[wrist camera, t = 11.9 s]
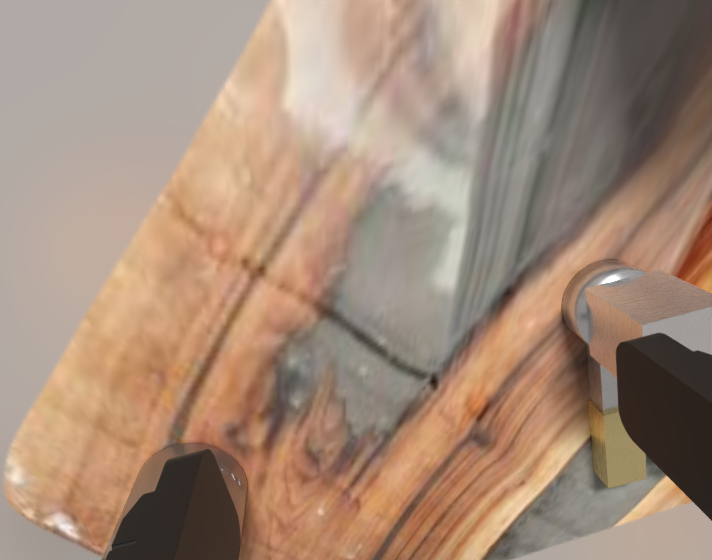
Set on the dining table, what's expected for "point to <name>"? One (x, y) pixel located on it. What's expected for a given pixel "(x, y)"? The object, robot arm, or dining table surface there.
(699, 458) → the robot arm
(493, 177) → the dining table surface
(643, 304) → the brushed steel cube
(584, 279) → the ratchet
